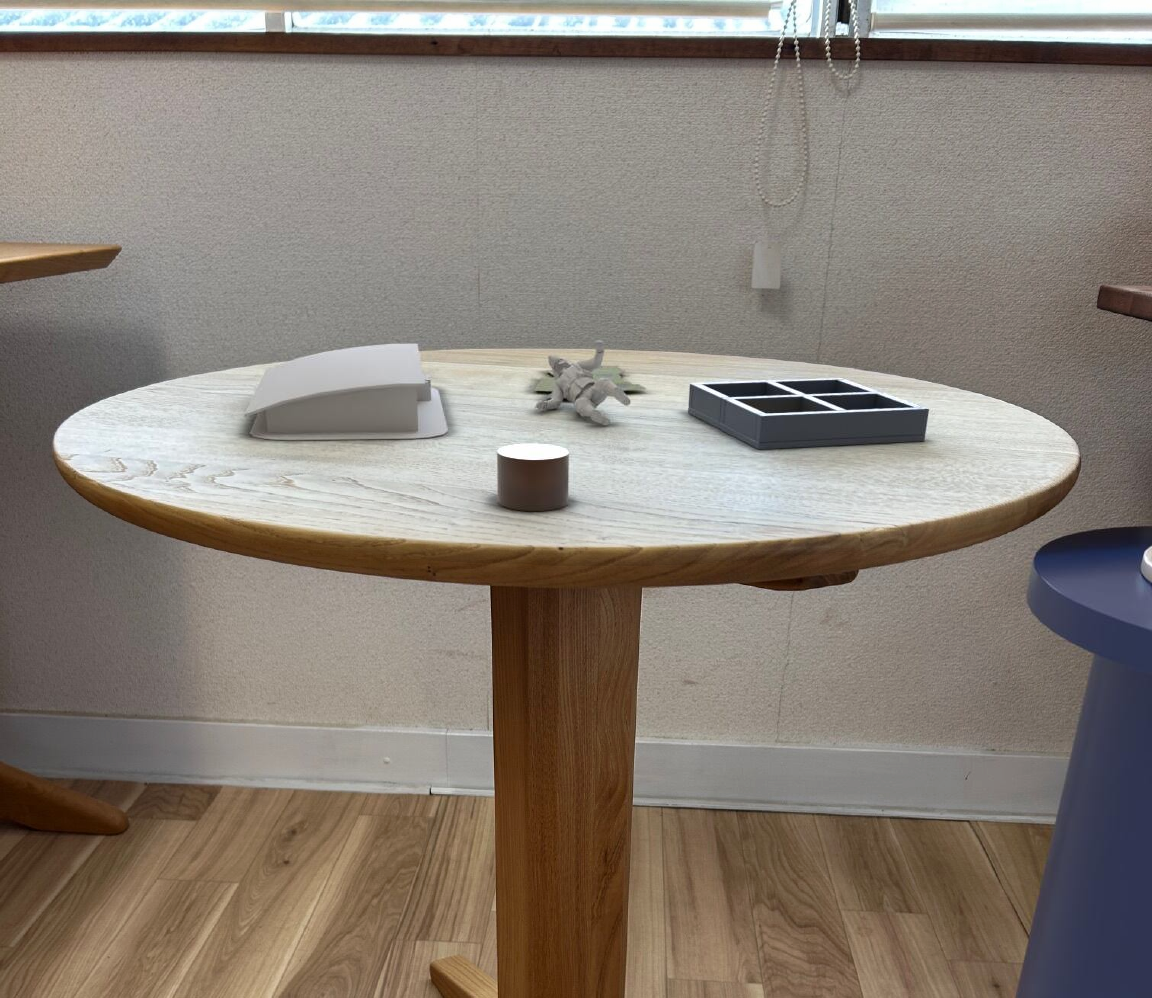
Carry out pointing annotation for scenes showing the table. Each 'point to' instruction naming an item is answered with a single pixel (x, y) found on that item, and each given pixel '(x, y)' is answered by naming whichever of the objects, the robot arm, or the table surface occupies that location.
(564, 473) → the cylinder
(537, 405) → the soldier figure
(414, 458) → the table surface
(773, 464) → the table surface
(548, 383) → the map
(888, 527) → the table surface
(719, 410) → the grid
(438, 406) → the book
